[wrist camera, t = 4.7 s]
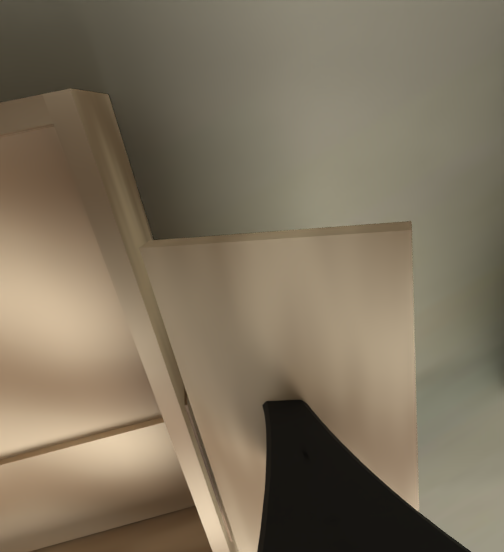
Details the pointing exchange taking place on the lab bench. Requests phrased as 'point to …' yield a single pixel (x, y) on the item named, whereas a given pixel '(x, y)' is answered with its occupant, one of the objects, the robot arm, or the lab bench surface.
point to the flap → (293, 347)
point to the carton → (88, 351)
